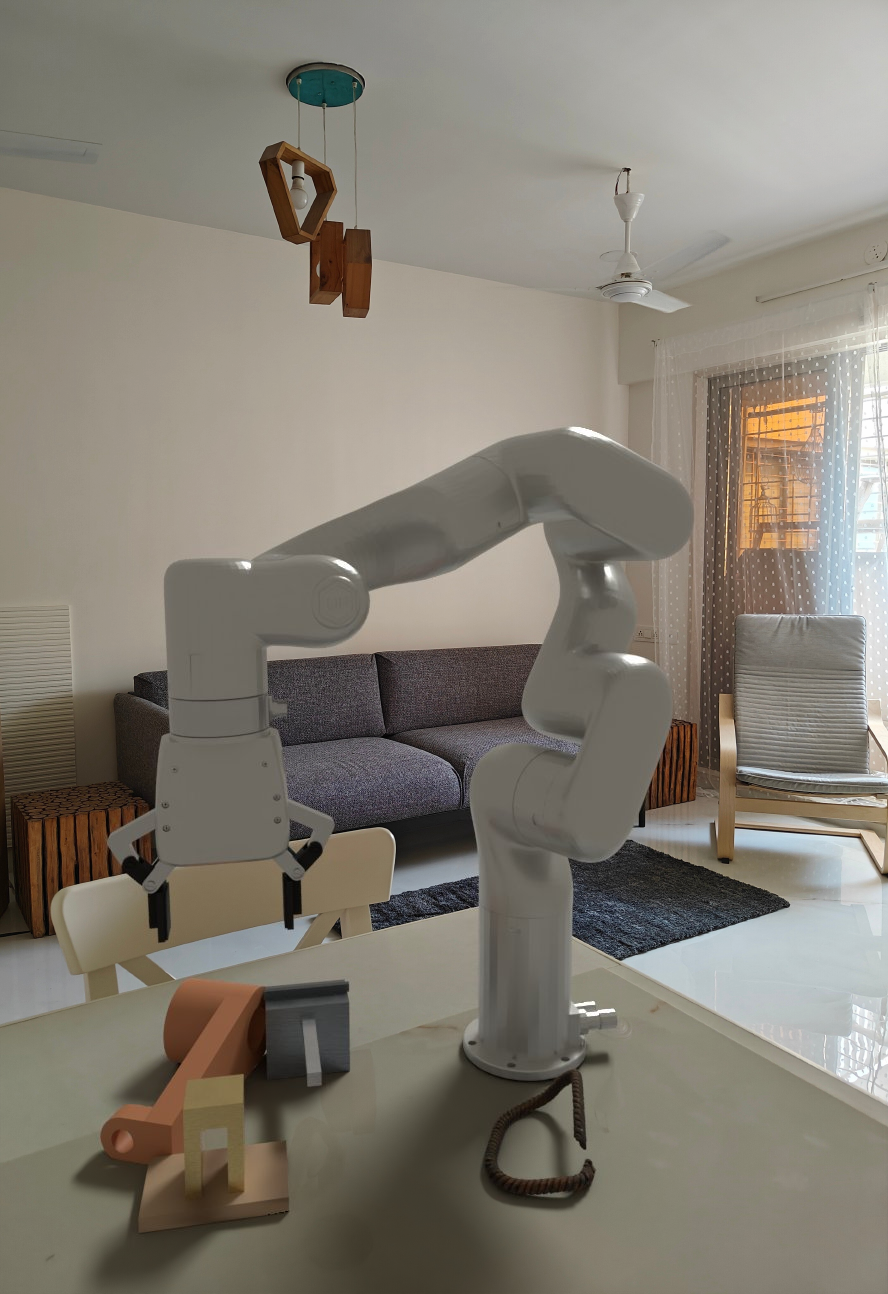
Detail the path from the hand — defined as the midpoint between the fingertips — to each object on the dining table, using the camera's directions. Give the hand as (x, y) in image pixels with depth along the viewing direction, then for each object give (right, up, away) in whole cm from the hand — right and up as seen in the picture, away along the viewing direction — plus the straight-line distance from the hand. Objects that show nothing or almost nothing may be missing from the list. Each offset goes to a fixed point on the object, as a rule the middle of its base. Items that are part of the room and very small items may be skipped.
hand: (227, 929), depth 71 cm
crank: (-7, -20, +13) cm, 25 cm away
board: (-1, -21, 0) cm, 21 cm away
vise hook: (+4, -19, +14) cm, 24 cm away
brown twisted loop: (+26, -21, +5) cm, 33 cm away
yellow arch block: (-1, -20, -1) cm, 20 cm away
